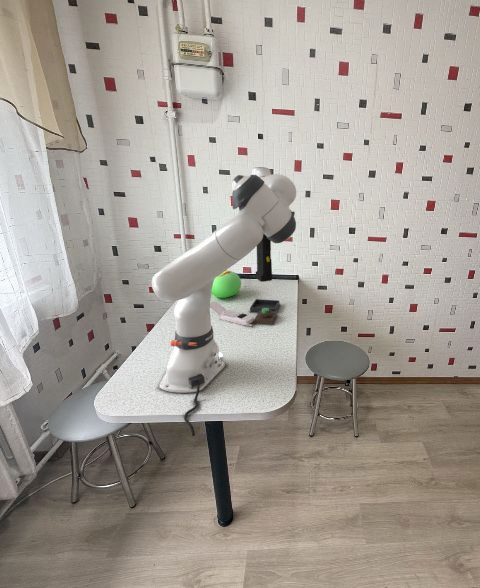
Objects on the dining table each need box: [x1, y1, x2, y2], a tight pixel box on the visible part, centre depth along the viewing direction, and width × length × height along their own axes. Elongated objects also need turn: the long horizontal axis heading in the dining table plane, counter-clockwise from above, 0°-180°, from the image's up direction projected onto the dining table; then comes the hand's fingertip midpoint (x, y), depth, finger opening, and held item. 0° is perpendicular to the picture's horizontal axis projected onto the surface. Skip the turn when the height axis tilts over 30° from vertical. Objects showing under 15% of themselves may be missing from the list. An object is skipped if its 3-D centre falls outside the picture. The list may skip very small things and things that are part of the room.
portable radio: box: [255, 234, 273, 283], centre depth 154 cm, size 8×6×25 cm
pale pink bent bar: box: [210, 300, 255, 327], centre depth 151 cm, size 6×6×25 cm
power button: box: [262, 308, 269, 314], centre depth 152 cm, size 3×3×2 cm
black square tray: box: [249, 298, 280, 314], centre depth 164 cm, size 11×12×3 cm
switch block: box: [253, 310, 277, 326], centre depth 153 cm, size 10×8×4 cm
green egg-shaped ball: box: [211, 269, 242, 299], centre depth 174 cm, size 18×17×15 cm
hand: (263, 237), depth 151 cm, fingers closed on portable radio, 6 cm apart
